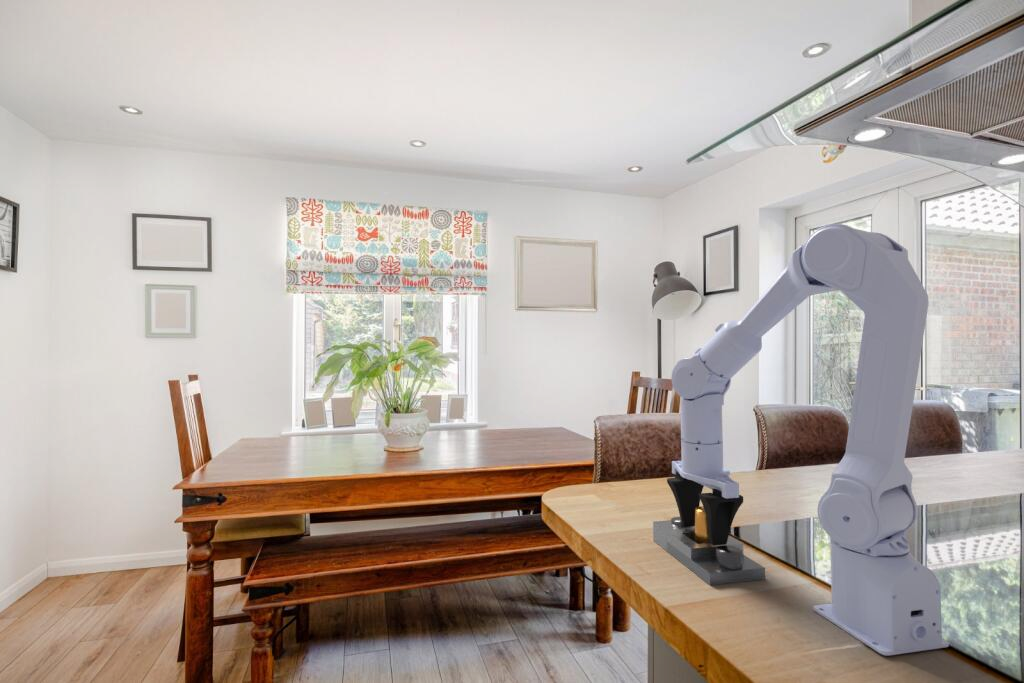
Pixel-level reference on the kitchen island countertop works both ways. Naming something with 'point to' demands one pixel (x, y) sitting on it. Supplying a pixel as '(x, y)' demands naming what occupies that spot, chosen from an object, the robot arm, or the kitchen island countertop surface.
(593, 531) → the kitchen island countertop surface
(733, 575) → the gray slab
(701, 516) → the pin
